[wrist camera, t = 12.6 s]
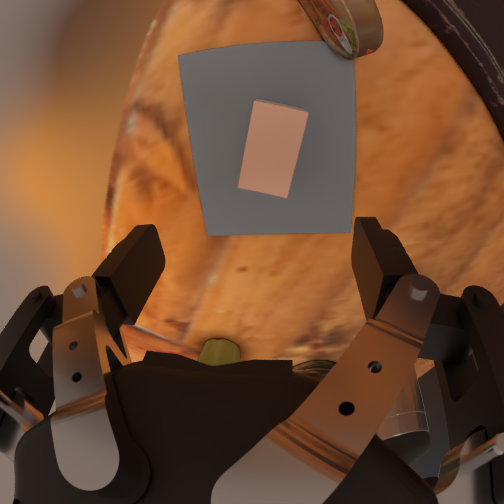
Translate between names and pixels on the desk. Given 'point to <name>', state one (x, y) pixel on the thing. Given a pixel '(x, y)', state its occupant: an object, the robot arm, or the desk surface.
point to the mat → (237, 125)
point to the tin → (347, 25)
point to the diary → (472, 42)
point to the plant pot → (219, 352)
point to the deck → (272, 147)
